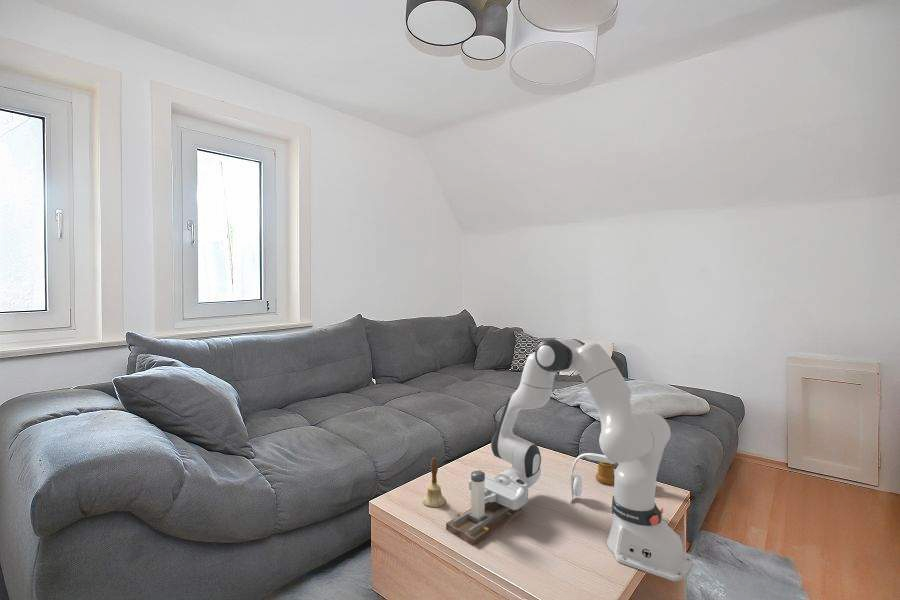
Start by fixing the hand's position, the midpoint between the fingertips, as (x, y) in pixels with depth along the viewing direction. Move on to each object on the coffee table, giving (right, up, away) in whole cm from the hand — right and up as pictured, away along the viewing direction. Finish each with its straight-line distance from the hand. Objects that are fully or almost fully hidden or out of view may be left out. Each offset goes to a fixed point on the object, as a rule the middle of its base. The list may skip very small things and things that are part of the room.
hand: (481, 500), depth 141 cm
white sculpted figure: (+64, -7, +22) cm, 68 cm away
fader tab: (-1, -6, -1) cm, 6 cm away
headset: (+42, -7, +12) cm, 45 cm away
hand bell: (-16, -7, +15) cm, 23 cm away
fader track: (+1, -8, +2) cm, 8 cm away
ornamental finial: (+51, -6, +29) cm, 59 cm away
